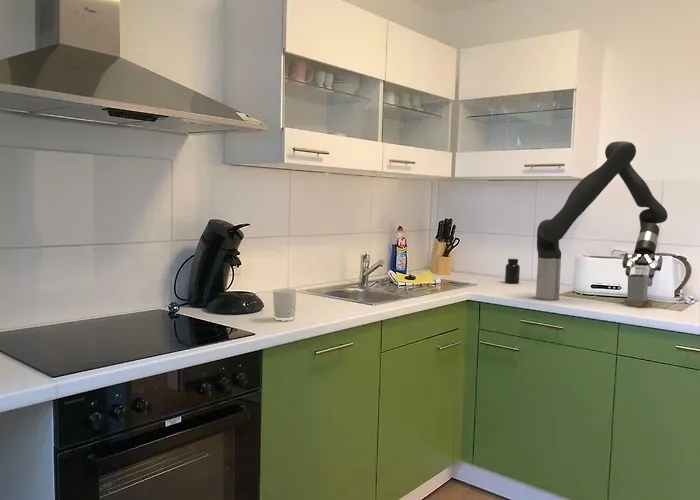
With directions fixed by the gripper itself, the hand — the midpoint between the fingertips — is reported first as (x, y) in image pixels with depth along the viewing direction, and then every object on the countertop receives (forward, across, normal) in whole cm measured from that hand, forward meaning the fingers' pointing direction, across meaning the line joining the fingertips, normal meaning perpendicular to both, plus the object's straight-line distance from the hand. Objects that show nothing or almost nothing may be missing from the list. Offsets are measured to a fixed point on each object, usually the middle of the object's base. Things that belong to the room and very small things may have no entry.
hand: (639, 276), depth 232 cm
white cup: (+84, -90, -67) cm, 141 cm away
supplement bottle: (-10, -61, +28) cm, 68 cm away
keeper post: (+7, 0, +10) cm, 12 cm away
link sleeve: (+6, 0, +8) cm, 10 cm away
